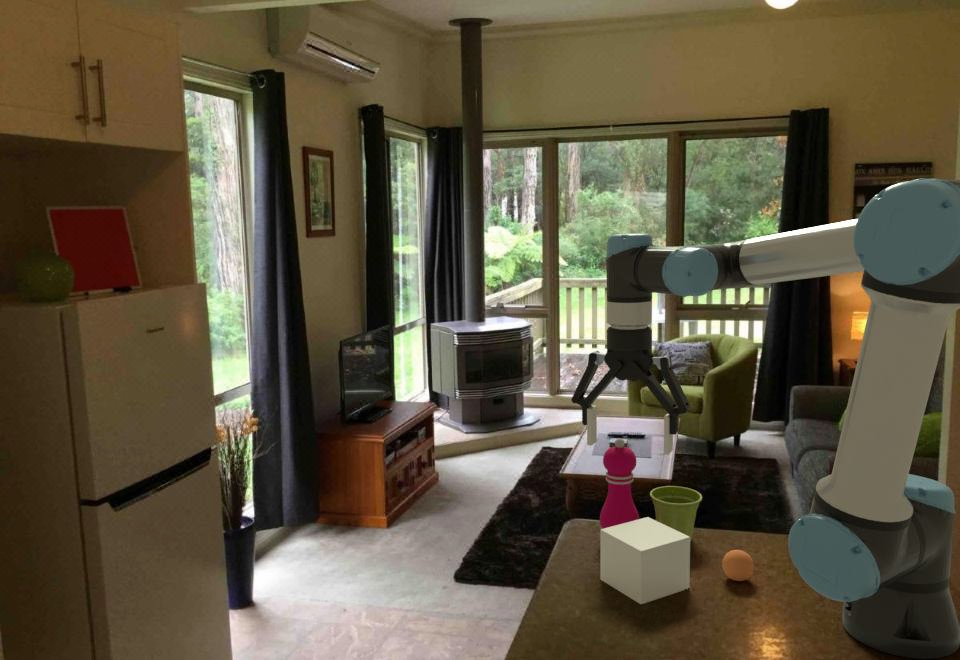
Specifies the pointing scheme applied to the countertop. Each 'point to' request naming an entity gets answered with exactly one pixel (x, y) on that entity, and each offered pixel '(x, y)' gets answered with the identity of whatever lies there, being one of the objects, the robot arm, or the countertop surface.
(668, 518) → the plant pot
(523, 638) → the countertop surface
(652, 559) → the cream cuboid
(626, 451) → the pepper mill
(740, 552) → the ball
